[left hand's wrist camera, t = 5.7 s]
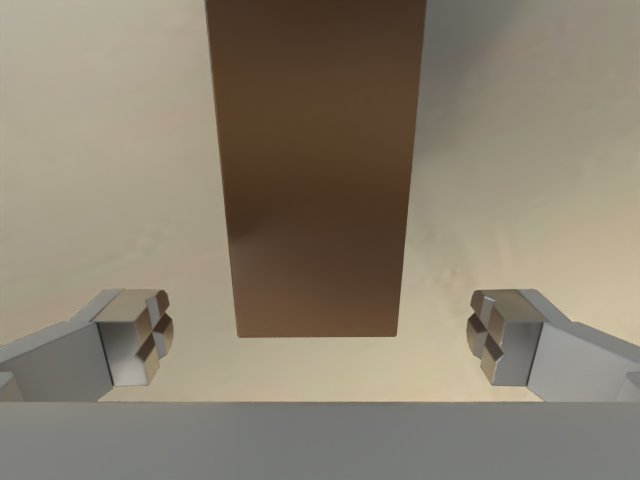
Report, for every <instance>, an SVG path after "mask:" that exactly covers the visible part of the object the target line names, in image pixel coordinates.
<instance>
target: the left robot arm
mask: <svg viewBox="0 0 640 480" xmlns="http://www.w3.org/2000/svg"><path fill="white" fill-rule="evenodd" d="M470 305H471V307H472V308H473V310H474V311H475V313H474V314H473V315H472V316H471V317H470V318H469V319H468V323H467V330H466V331H467V341H468V344H469V347H470V349H471V351H472V353H473V355H475V356H476V357H478V358H479V359H481V366H480V367H481V369H482V370H483V372H484V374H485V375H486V377H487V379H488V380H489V382H490V384H491V385H492V386H527V389H529V390H530V391H531V392H533V393H534V394H536V395H537V396H538V397H540V398H541V399H542V400H544V401H545V402H95V401H97V400H98V399H99V398H101V397H102V396H103V395H105V394H106V393H107V392H109V391H110V390H111V389H113V386H149V384H150V382H151V380H152V379H153V377H154V375H155V374H156V372H157V370H158V369H159V367H160V366H159V359H161V358H162V357H164V356H165V355H167V353H168V351H169V349H170V348H171V344H172V340H173V322H172V319H171V318H170V317H169V316H168V315H167V314H166V313H165V311H166V310H167V308H168V307H169V300H168V295H167V293H166V292H165V291H164V290H141V289H106V290H103V291H102V292H100V293H99V294H98V295H97V296H96V297H95V298H94V299H93V300H92V301H90V302H89V303H88V304H87V305H86V306H85V307H84V308H83V309H82V310H81V311H79V312H78V313H77V314H76V315H75V316H74V317H73V318H72V319H71V320H69V321H68V322H60V323H58V324H55V325H53V326H50V327H48V328H45V329H43V330H40V331H38V332H35V333H33V334H31V335H28V336H26V337H23V338H21V339H18V340H16V341H13V342H11V343H8V344H6V345H3V346H1V347H0V480H640V347H639V346H637V345H634V344H632V343H629V342H627V341H624V340H622V339H619V338H617V337H614V336H612V335H609V334H607V333H604V332H602V331H600V330H597V329H595V328H592V327H590V326H587V325H585V324H582V323H580V322H572V321H571V320H569V319H568V318H567V317H566V316H565V315H564V314H563V313H562V312H561V311H560V310H558V309H557V308H556V307H555V306H554V305H553V304H552V303H551V302H550V301H549V300H547V299H546V298H545V297H544V296H543V295H542V294H541V293H540V292H539V291H538V290H535V289H503V290H477V291H474V293H473V295H472V299H471V304H470Z"/></svg>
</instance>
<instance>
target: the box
mask: <svg viewBox="0 0 640 480" xmlns="http://www.w3.org/2000/svg"><path fill="white" fill-rule="evenodd" d="M204 2H205V12H206V22H207V33H208V43H209V53H210V63H211V73H212V83H213V93H214V104H215V114H216V124H217V134H218V144H219V154H220V164H221V174H222V185H223V195H224V205H225V215H226V225H227V235H228V245H229V256H230V266H231V276H232V286H233V296H234V306H235V316H236V326H237V336H238V337H239V338H255V337H395V336H396V335H397V326H398V315H399V304H400V292H401V281H402V270H403V259H404V248H405V237H406V226H407V215H408V204H409V193H410V182H411V171H412V160H413V149H414V137H415V126H416V115H417V104H418V93H419V82H420V71H421V60H422V49H423V38H424V27H425V16H426V5H427V0H204Z"/></svg>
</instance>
